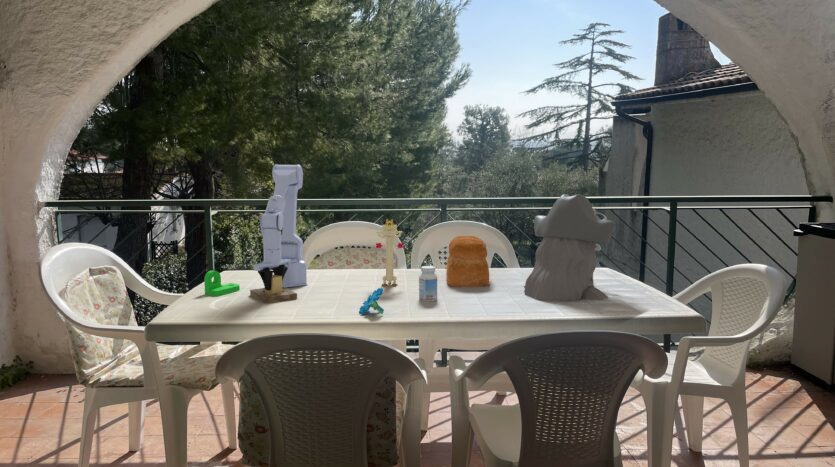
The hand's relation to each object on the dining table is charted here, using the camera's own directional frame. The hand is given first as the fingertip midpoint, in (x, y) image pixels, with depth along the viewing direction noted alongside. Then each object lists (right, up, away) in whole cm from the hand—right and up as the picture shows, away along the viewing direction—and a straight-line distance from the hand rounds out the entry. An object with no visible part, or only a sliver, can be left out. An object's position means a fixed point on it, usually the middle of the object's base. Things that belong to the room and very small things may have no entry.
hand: (273, 288), depth 200 cm
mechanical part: (-19, -2, +8) cm, 21 cm away
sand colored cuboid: (0, -3, 0) cm, 3 cm away
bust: (+99, -3, +7) cm, 100 cm away
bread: (+67, 0, +29) cm, 73 cm away
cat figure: (+38, -1, +21) cm, 44 cm away
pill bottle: (+52, -4, -2) cm, 52 cm away
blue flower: (+32, -7, -20) cm, 39 cm away
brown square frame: (0, -3, 0) cm, 3 cm away
